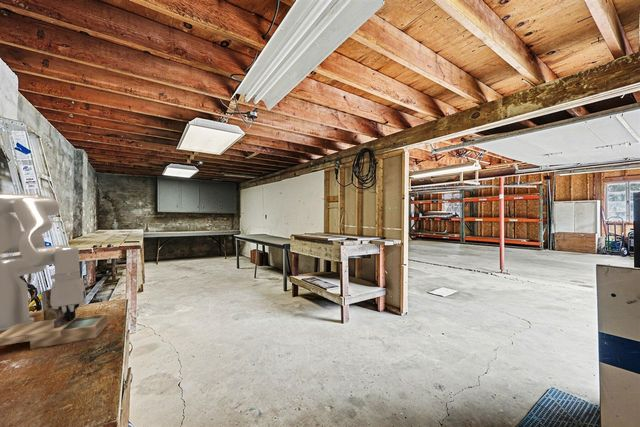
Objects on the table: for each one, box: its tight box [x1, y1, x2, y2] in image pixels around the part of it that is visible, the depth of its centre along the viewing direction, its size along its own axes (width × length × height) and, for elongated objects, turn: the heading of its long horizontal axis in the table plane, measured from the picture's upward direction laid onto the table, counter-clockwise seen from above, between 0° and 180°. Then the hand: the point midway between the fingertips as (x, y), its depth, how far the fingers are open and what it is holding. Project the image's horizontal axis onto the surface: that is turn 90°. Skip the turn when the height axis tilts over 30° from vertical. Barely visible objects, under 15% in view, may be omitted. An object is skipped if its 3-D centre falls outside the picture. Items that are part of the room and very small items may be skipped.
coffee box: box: [41, 288, 71, 321], centre depth 125 cm, size 9×6×16 cm
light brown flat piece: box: [0, 314, 79, 346], centre depth 109 cm, size 20×16×5 cm
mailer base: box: [29, 313, 109, 350], centre depth 113 cm, size 20×14×5 cm
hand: (70, 320), depth 113 cm, fingers closed
